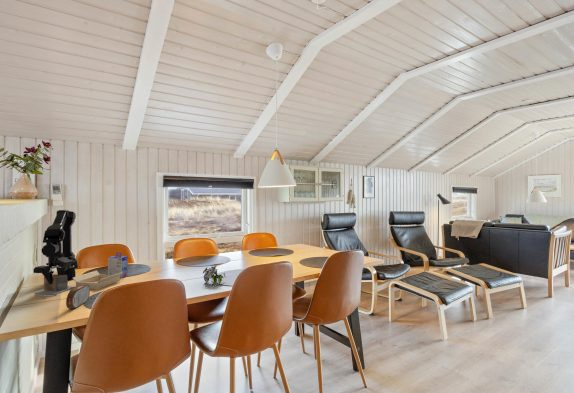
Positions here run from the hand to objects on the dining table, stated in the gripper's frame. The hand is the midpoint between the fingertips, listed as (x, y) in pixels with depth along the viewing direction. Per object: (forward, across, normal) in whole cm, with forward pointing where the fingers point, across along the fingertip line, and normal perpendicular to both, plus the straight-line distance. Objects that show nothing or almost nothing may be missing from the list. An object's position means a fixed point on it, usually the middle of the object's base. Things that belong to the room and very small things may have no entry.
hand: (55, 282), depth 165 cm
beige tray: (+4, +14, -13) cm, 20 cm away
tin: (+5, -15, -29) cm, 33 cm away
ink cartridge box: (+5, +30, -12) cm, 33 cm away
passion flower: (+5, +28, -74) cm, 79 cm away
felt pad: (+4, 0, 0) cm, 4 cm away
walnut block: (+3, 0, 0) cm, 3 cm away
